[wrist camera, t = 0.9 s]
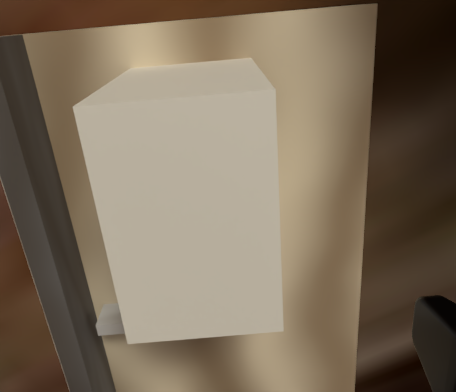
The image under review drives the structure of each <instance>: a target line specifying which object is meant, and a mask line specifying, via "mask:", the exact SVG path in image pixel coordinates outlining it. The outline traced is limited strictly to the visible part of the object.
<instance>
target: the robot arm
mask: <svg viewBox="0 0 456 392" xmlns="http://www.w3.org/2000/svg"><path fill="white" fill-rule="evenodd" d="M412 338H413V343H414V346H415V348H416V351H417V353H418V356H419V358H420V361H421V363H422V366H423V368H424V371H425V373H426V376H427V378H428V381H429V383H430V386H431V388H432V391H433V392H456V303H454V302H452V301H450V300H448V299H447V298H445V297H443V296H439V295H435V296H424V297H419V298H418V299H417V300H416V302H415V308H414V317H413V326H412Z"/></svg>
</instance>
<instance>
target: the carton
mask: <svg viewBox="0 0 456 392" xmlns="http://www.w3.org/2000/svg"><path fill="white" fill-rule="evenodd" d="M73 111H74V115H75V120H76V124H77V128H78V132H79V137H80V141H81V145H82V150H83V154H84V158H85V163H86V167H87V171H88V176H89V180H90V184H91V188H92V193H93V197H94V201H95V206H96V210H97V214H98V219H99V223H100V227H101V232H102V236H103V240H104V245H105V249H106V253H107V257H108V262H109V266H110V270H111V275H112V279H113V283H114V288H115V292H116V296H117V301H118V305H119V309H120V313H121V318H122V322H123V326H124V331H125V335H126V339H127V344H136V343H148V342H160V341H173V340H185V339H197V338H209V337H221V336H233V335H245V334H257V333H270V332H282V331H284V327H283V297H282V267H281V237H280V207H279V176H278V146H277V116H276V89H275V88H274V87H273V85H272V84H271V83H270V81H269V80H268V79H267V78H266V76H265V75H264V74H263V72H262V71H261V70H260V69H259V67H258V66H257V65H256V63H255V62H254V61H253V60H252V58H243V59H231V60H220V61H208V62H197V63H185V64H174V65H162V66H151V67H139V68H130V69H128V70H127V71H125V72H124V73H122V74H121V75H119V76H118V77H116V78H115V79H113V80H112V81H110V82H109V83H107V84H106V85H104V86H103V87H101V88H100V89H98V90H97V91H95V92H94V93H92V94H91V95H89V96H88V97H86V98H85V99H83V100H82V101H80V102H79V103H77V104H76V105H74V106H73Z"/></svg>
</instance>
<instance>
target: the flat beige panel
mask: <svg viewBox="0 0 456 392" xmlns="http://www.w3.org/2000/svg"><path fill="white" fill-rule="evenodd" d="M377 6H378V3H376V4H359V5H348V6H337V7H325V8H314V9H303V10H291V11H280V12H268V13H257V14H246V15H234V16H223V17H211V18H200V19H189V20H177V21H166V22H154V23H143V24H132V25H120V26H109V27H97V28H86V29H75V30H63V31H52V32H40V33H29V34H18V35H8V36H0V179H1V182H2V186H3V189H4V192H5V195H6V198H7V201H8V204H9V207H10V210H11V213H12V216H13V219H14V222H15V225H16V229H17V232H18V235H19V238H20V241H21V244H22V247H23V250H24V253H25V256H26V259H27V262H28V265H29V268H30V272H31V275H32V278H33V281H34V284H35V287H36V290H37V293H38V296H39V299H40V302H41V305H42V308H43V311H44V315H45V318H46V321H47V324H48V327H49V330H50V333H51V336H52V339H53V342H54V345H55V348H56V351H57V354H58V358H59V361H60V364H61V367H62V370H63V373H64V376H65V379H66V382H67V385H68V388H69V391H70V392H354V390H355V373H356V356H357V340H358V323H359V306H360V290H361V273H362V256H363V240H364V223H365V206H366V189H367V173H368V156H369V139H370V123H371V106H372V89H373V73H374V56H375V39H376V23H377ZM243 58H252V60H253V61H254V62H255V63H256V65H257V66H258V67H259V69H260V70H261V71H262V72H263V74H264V75H265V76H266V78H267V79H268V80H269V81H270V83H271V84H272V85H273V87H274V88H275V89H276V116H277V146H278V176H279V207H280V237H281V267H282V297H283V327H284V331H282V332H270V333H257V334H245V335H233V336H221V337H209V338H197V339H185V340H173V341H160V342H148V343H136V344H127V339H126V335H125V331H124V326H123V322H122V318H121V313H120V309H119V305H118V301H117V296H116V292H115V288H114V283H113V279H112V275H111V270H110V266H109V262H108V257H107V253H106V249H105V245H104V240H103V236H102V232H101V227H100V223H99V219H98V214H97V210H96V206H95V201H94V197H93V193H92V188H91V184H90V180H89V176H88V171H87V167H86V163H85V158H84V154H83V150H82V145H81V141H80V137H79V132H78V128H77V124H76V120H75V115H74V111H73V106H74V105H76V104H77V103H79V102H80V101H82V100H83V99H85V98H86V97H88V96H89V95H91V94H92V93H94V92H95V91H97V90H98V89H100V88H101V87H103V86H104V85H106V84H107V83H109V82H110V81H112V80H113V79H115V78H116V77H118V76H119V75H121V74H122V73H124V72H125V71H127V70H128V69H130V68H139V67H151V66H162V65H174V64H185V63H197V62H208V61H220V60H231V59H243Z"/></svg>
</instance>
